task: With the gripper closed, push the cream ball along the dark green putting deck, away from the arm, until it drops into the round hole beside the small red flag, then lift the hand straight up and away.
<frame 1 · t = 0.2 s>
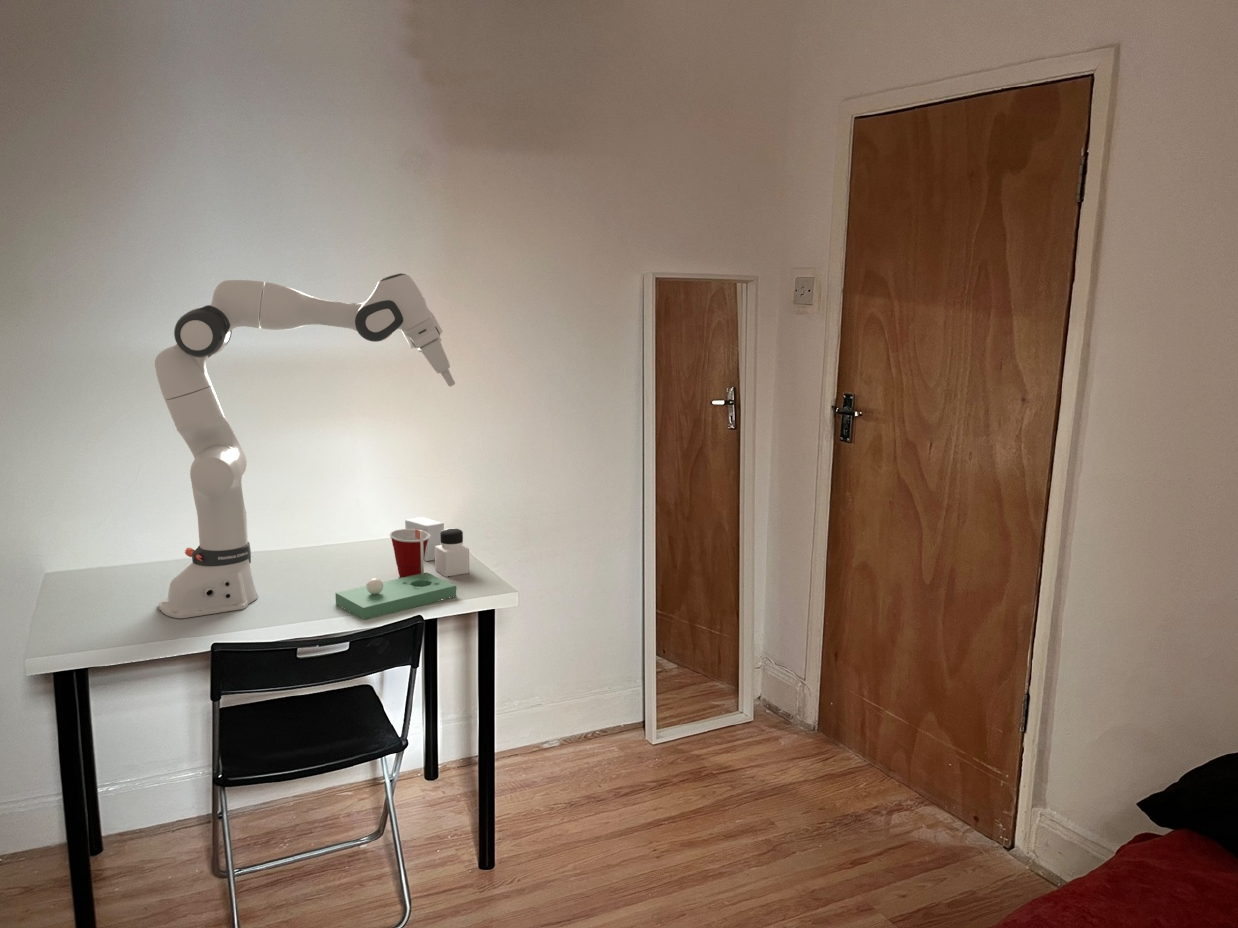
hand: (451, 383, 244), 54 cm above the table, tool tilted 30°, fingers open, 8 cm apart
ball: (374, 586, 238), point 5 cm above the table, touching putting deck
medicine bottle: (452, 572, 267), on the table
putting deck: (397, 600, 243), on the table
skincare box: (424, 556, 281), on the table
plastic cup: (411, 576, 263), on the table
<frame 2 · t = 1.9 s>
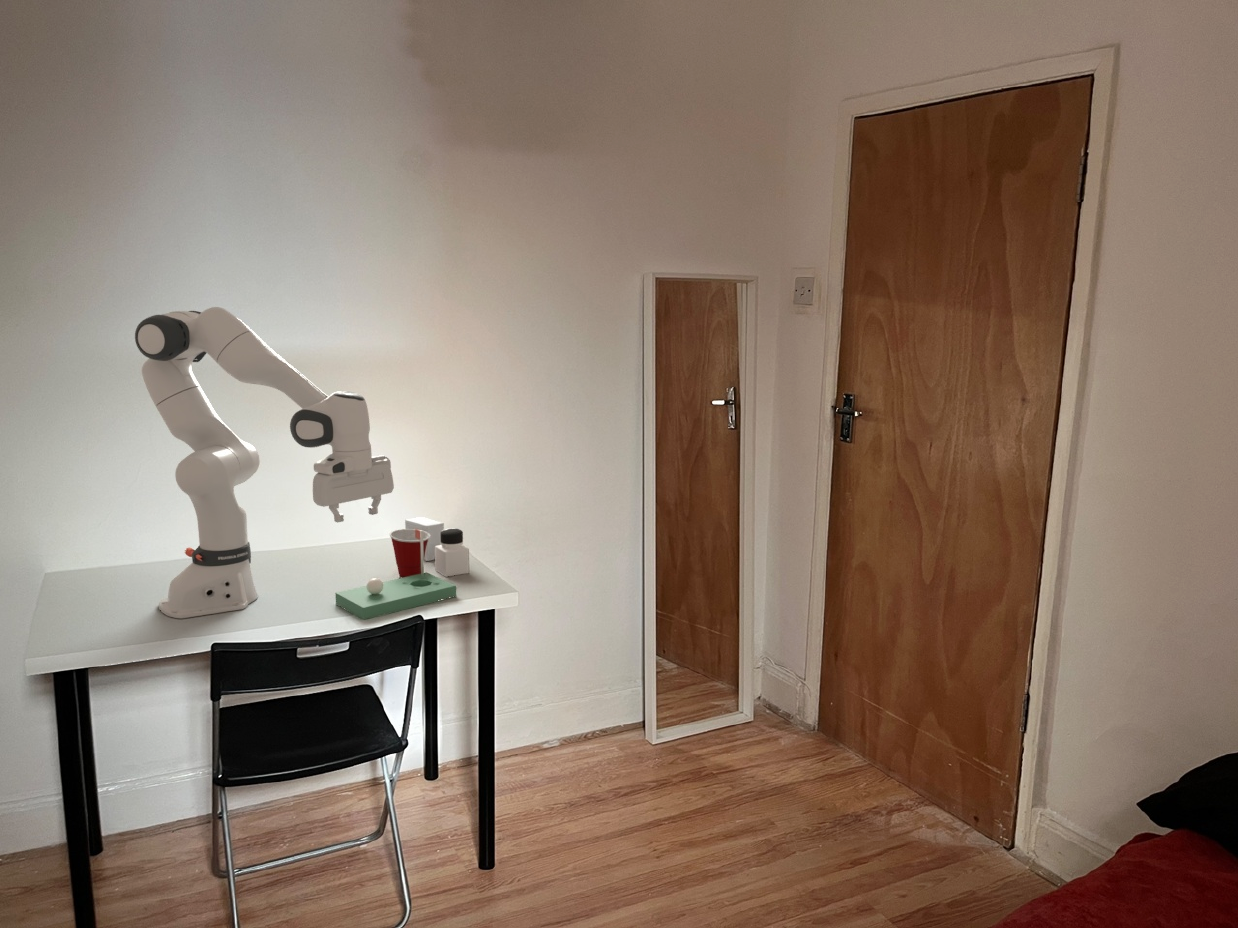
hand: (356, 517, 230), 23 cm above the table, tool pointing down, fingers open, 8 cm apart
nothing on the table moved.
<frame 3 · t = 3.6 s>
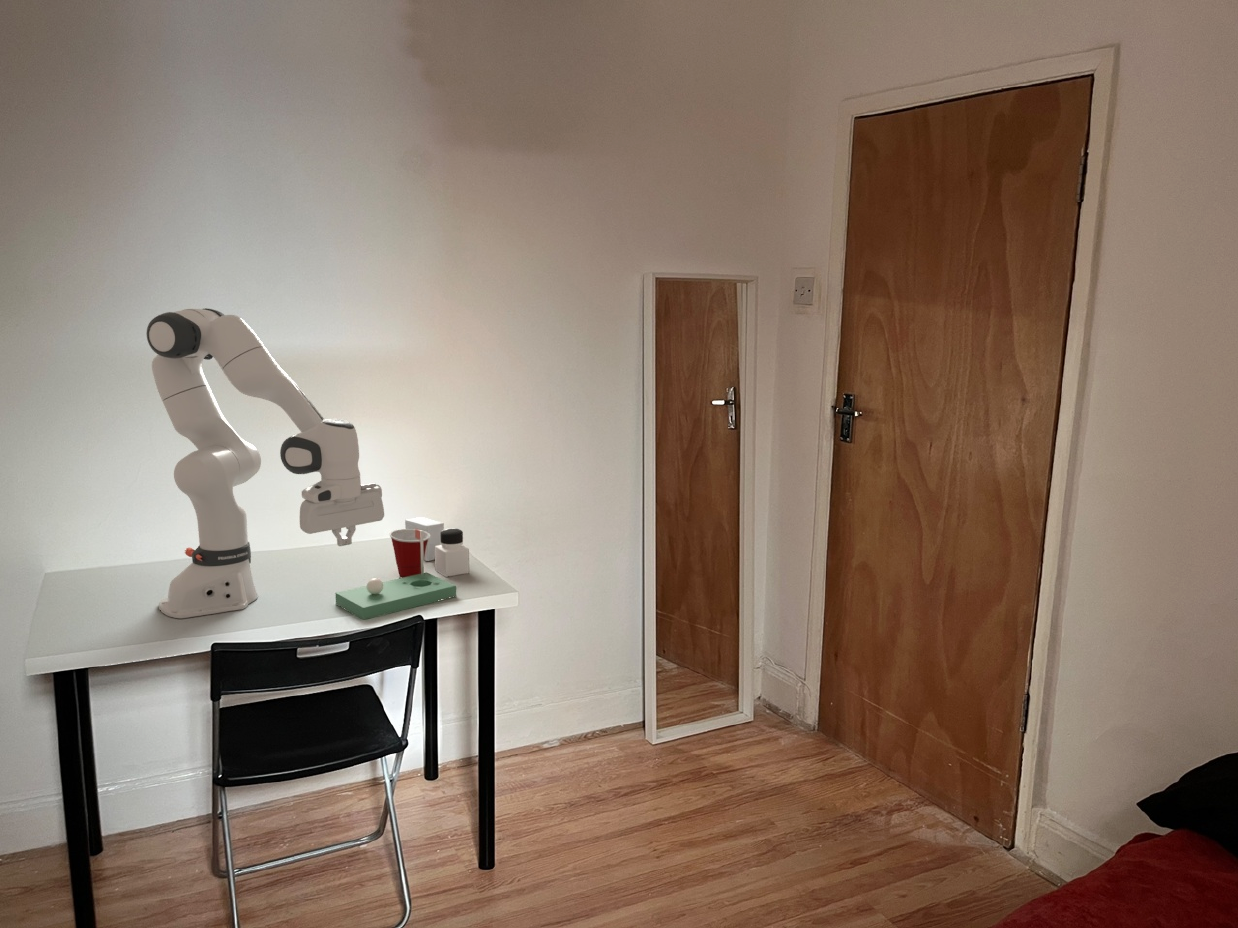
hand: (344, 544, 230), 17 cm above the table, tool pointing down, fingers closed
nothing on the table moved.
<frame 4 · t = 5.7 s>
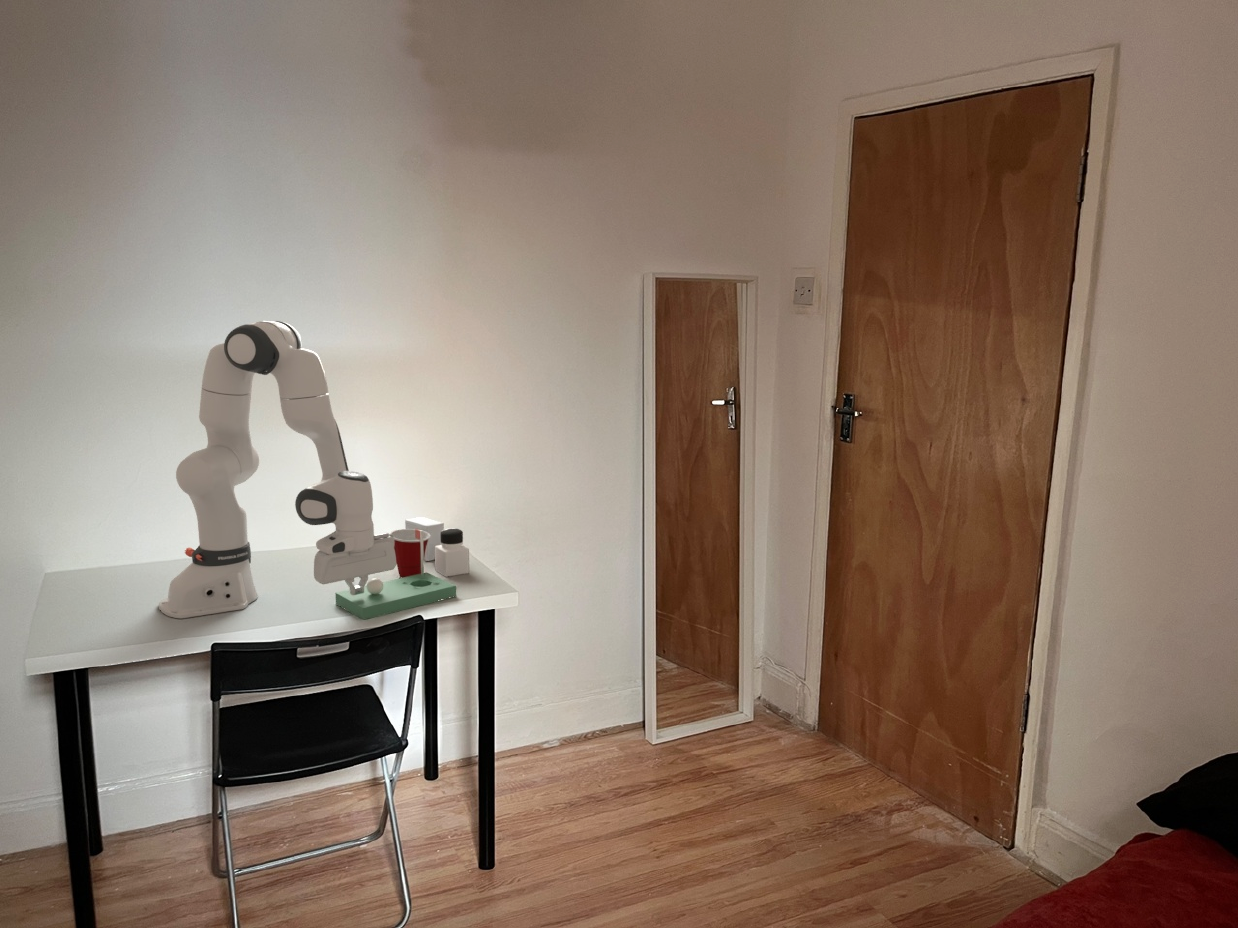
hand: (357, 593, 235), 4 cm above the table, tool pointing down, fingers closed
nothing on the table moved.
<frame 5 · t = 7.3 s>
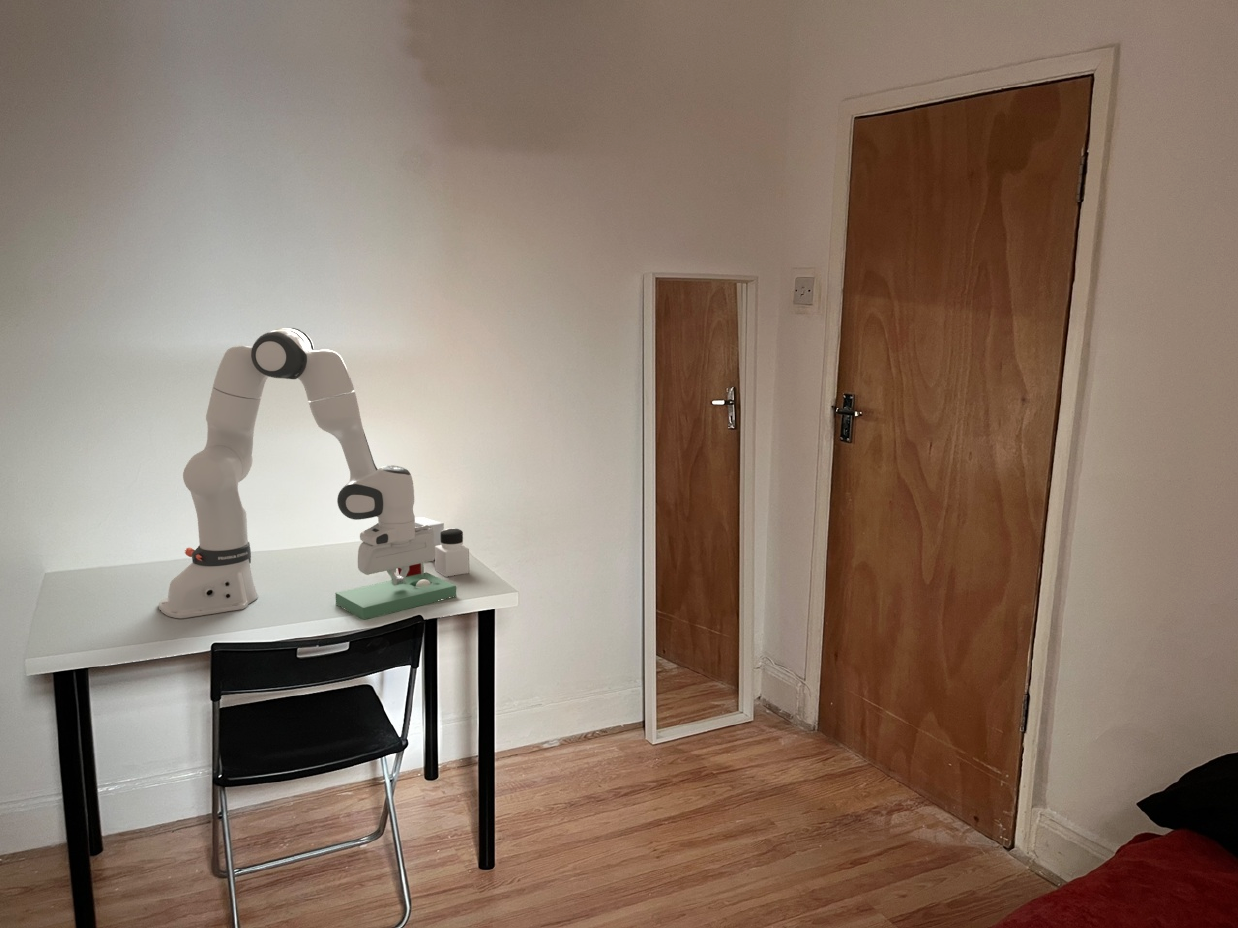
hand: (398, 584, 242), 4 cm above the table, tool pointing down, fingers closed
ball: (423, 586, 248), point 2 cm above the table, tilted 78°
everything else where it was.
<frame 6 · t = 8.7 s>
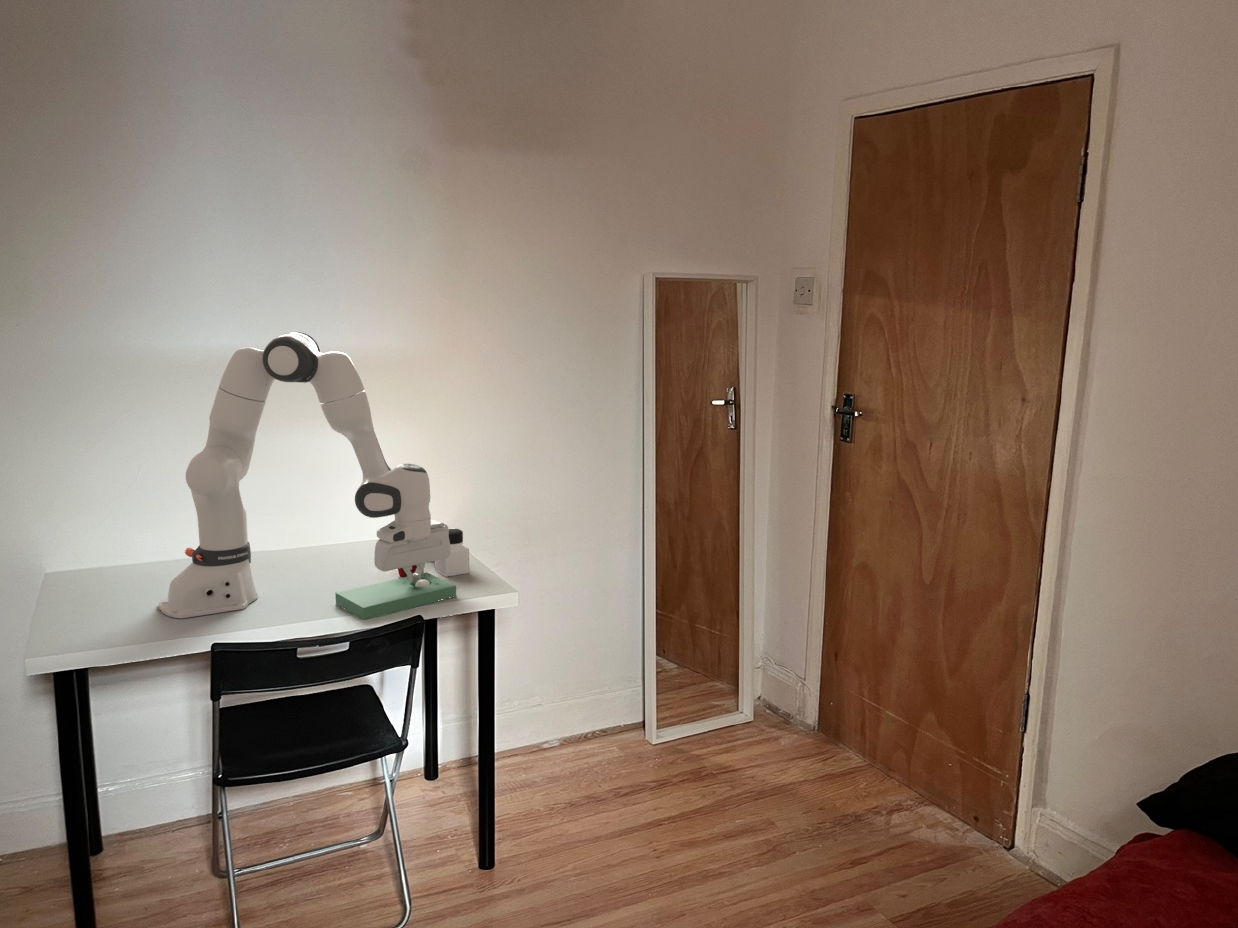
hand: (414, 580, 246), 4 cm above the table, tool pointing down, fingers closed
ball: (422, 587, 248), point 2 cm above the table, tilted 73°
everything else where it was.
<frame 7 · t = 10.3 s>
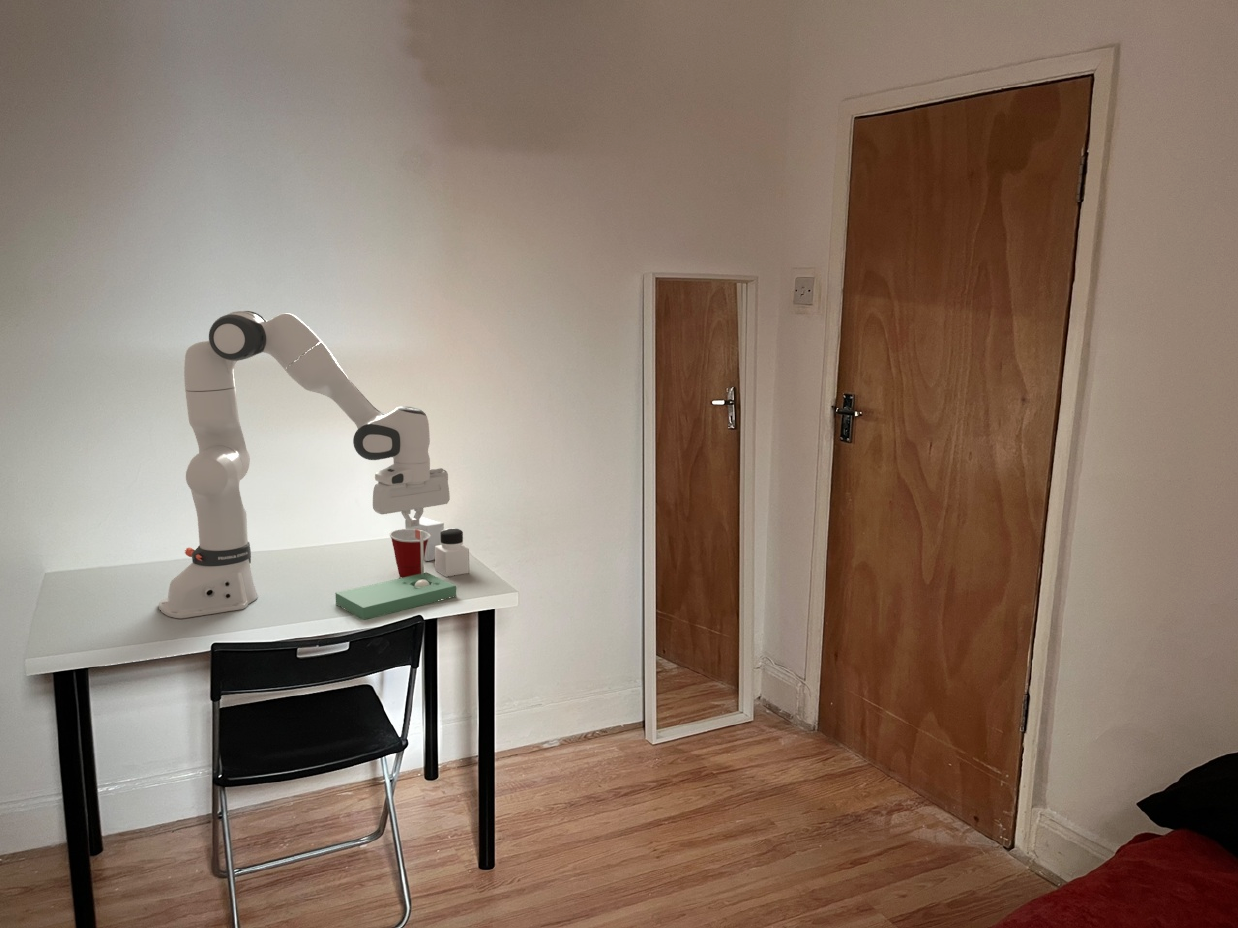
hand: (412, 526, 243), 19 cm above the table, tool pointing down, fingers closed
ball: (422, 587, 247), point 2 cm above the table, tilted 67°
everything else where it was.
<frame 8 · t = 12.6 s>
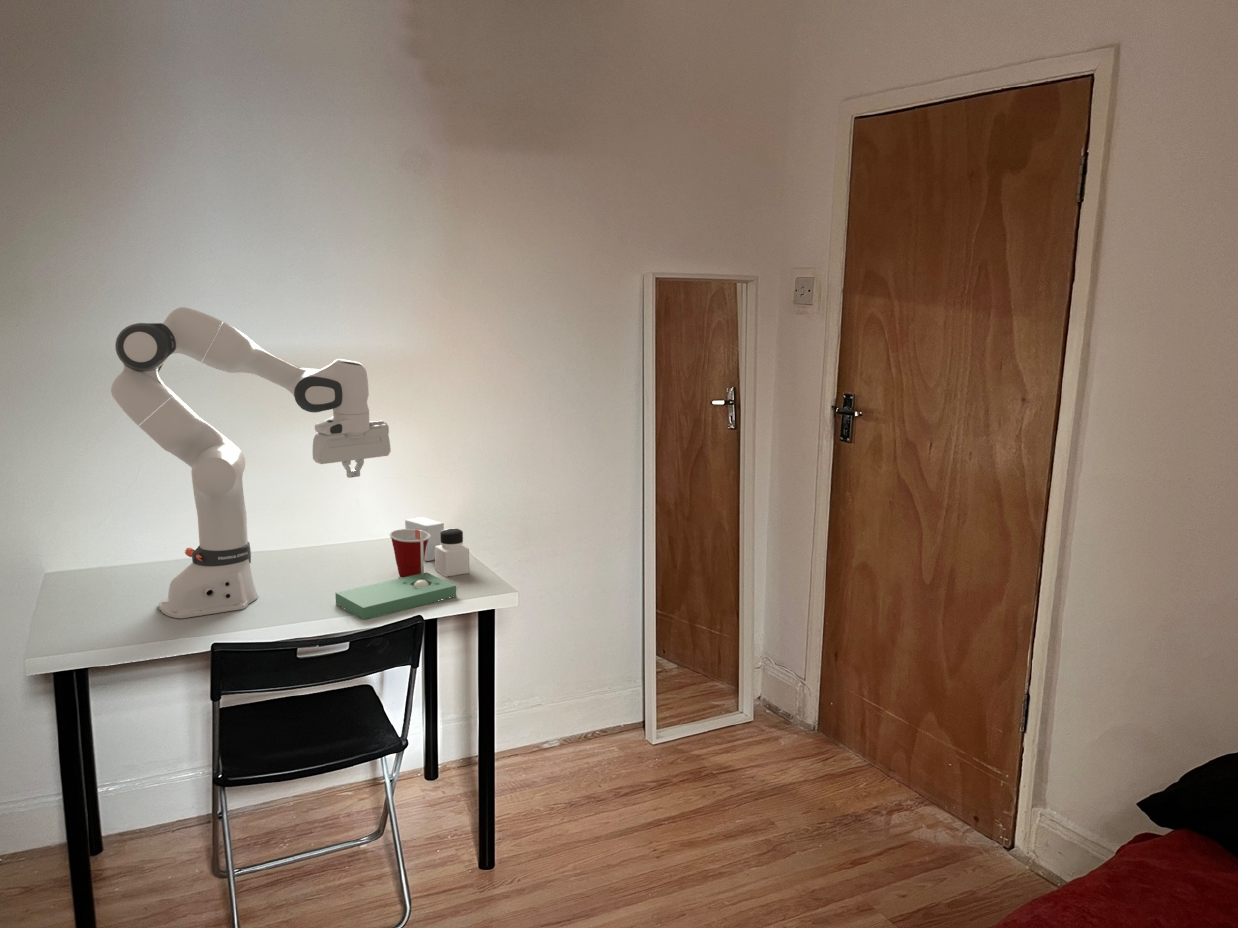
hand: (353, 476, 248), 29 cm above the table, tool pointing down, fingers closed
ball: (421, 587, 247), point 2 cm above the table, tilted 58°
everything else where it was.
at the end: ball 0.2 cm from the target spot on the putting deck, point 2.0 cm above the putting deck's base; the gripper is holding nothing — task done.
